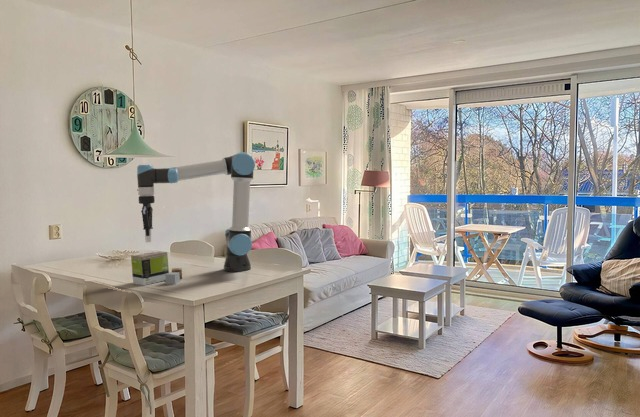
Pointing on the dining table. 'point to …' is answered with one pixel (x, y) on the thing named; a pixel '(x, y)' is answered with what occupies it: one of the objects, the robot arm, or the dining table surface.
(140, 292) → the dining table surface
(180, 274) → the walnut cube
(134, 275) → the tea box
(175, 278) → the slate-grey cube
